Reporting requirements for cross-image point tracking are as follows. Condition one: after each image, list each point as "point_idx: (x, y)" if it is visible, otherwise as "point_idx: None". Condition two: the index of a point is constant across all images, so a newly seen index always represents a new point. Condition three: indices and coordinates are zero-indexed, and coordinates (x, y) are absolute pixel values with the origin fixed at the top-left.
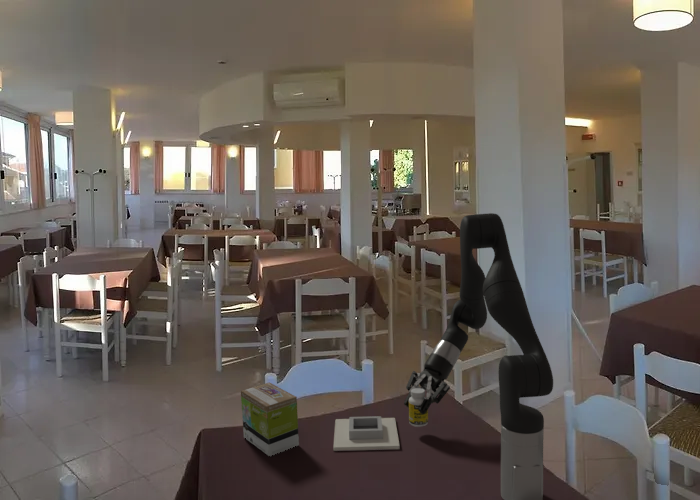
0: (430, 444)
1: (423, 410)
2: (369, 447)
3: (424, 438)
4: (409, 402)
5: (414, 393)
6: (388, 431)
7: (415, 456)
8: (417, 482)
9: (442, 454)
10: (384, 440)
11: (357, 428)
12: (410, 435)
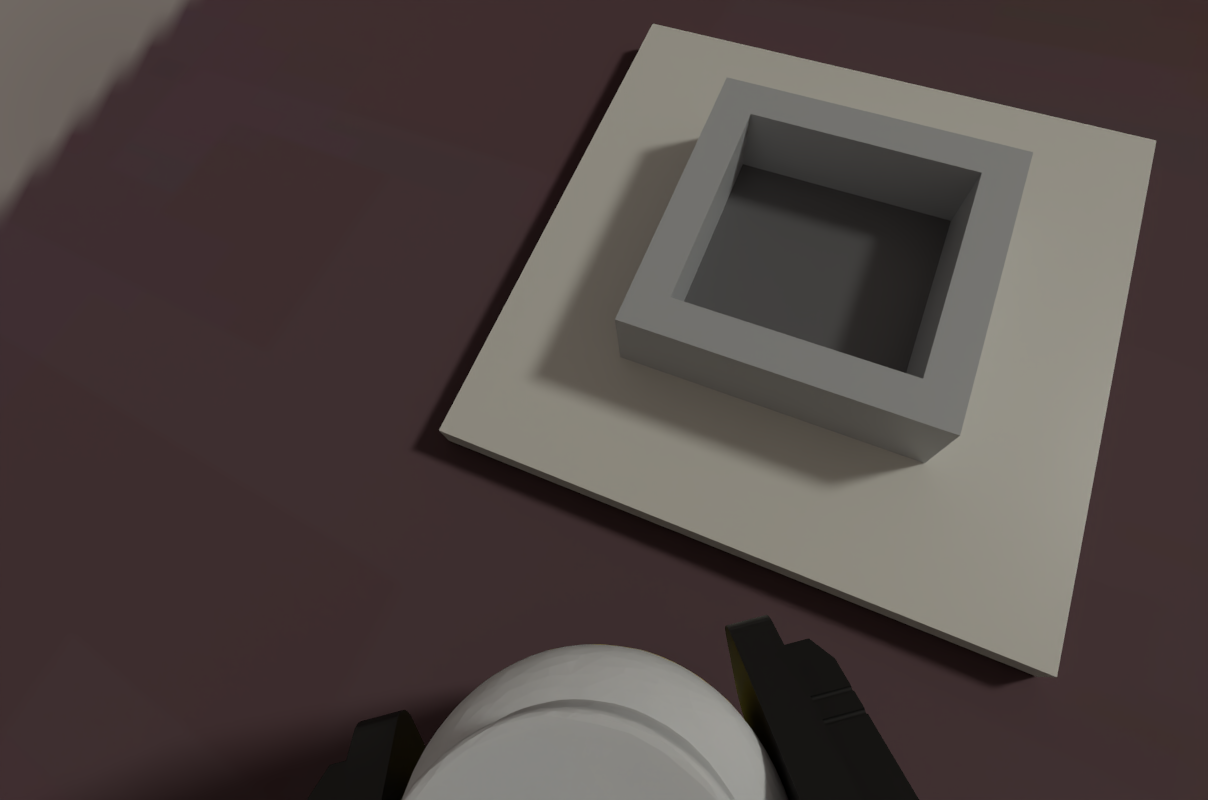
0: None
1: (332, 785)
2: (549, 227)
3: None
4: (614, 646)
5: (467, 738)
6: (738, 459)
7: (280, 504)
8: (7, 352)
9: (164, 747)
10: (587, 357)
11: (889, 233)
12: None
